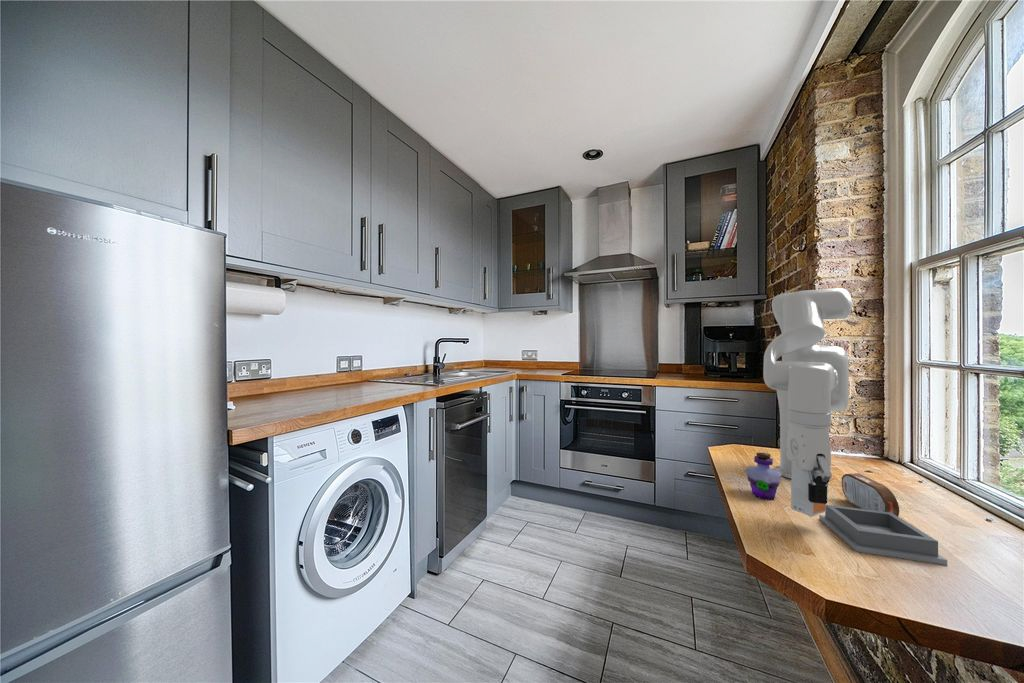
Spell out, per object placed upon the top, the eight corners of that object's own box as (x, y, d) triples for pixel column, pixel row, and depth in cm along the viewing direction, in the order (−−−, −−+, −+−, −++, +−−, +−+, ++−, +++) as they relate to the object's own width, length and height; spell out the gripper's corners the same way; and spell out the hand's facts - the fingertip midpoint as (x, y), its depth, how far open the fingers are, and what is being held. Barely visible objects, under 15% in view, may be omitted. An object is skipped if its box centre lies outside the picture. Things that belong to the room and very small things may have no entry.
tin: (901, 527, 81) (901, 491, 81) (885, 526, 81) (884, 490, 82) (852, 499, 96) (851, 469, 96) (838, 498, 96) (838, 468, 96)
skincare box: (812, 518, 77) (812, 464, 77) (790, 509, 81) (790, 458, 81) (827, 512, 79) (827, 460, 79) (805, 503, 83) (805, 454, 83)
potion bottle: (750, 500, 95) (750, 456, 95) (741, 487, 103) (740, 447, 103) (788, 505, 92) (788, 459, 92) (775, 492, 100) (775, 450, 100)
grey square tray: (819, 519, 84) (819, 502, 84) (893, 528, 80) (893, 511, 80) (856, 551, 71) (856, 531, 71) (947, 565, 67) (947, 544, 67)
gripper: (773, 409, 89) (774, 478, 89) (808, 426, 73) (808, 510, 73) (809, 411, 87) (809, 481, 87) (853, 429, 70) (852, 516, 71)
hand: (808, 494), depth 80 cm, fingers closed on skincare box, 6 cm apart
